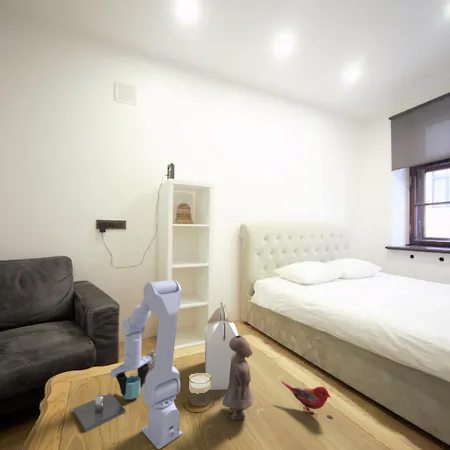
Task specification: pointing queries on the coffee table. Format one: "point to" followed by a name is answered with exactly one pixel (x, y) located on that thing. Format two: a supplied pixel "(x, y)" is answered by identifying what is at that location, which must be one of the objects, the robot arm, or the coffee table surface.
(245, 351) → the clay figurine
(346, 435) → the coffee table surface
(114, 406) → the base
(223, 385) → the gable box
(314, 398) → the decorative bird figurine
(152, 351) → the lighter
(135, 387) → the elbow collar
